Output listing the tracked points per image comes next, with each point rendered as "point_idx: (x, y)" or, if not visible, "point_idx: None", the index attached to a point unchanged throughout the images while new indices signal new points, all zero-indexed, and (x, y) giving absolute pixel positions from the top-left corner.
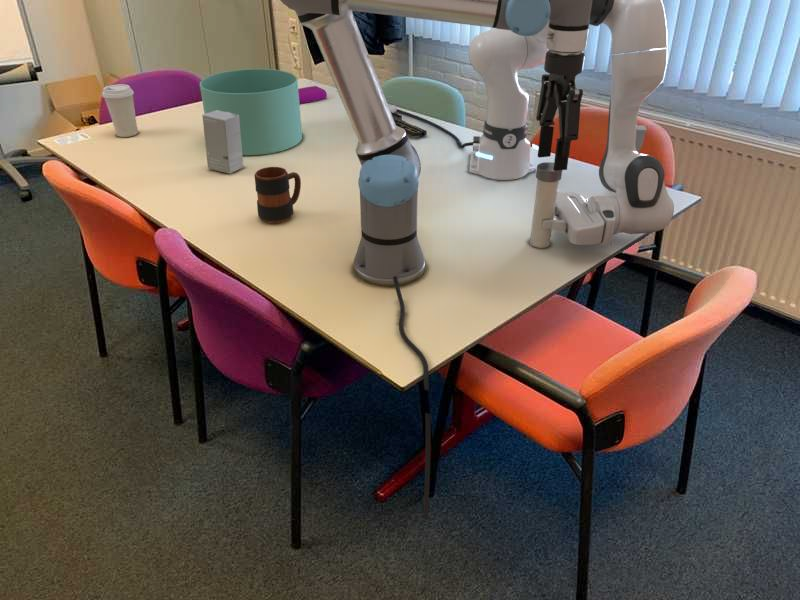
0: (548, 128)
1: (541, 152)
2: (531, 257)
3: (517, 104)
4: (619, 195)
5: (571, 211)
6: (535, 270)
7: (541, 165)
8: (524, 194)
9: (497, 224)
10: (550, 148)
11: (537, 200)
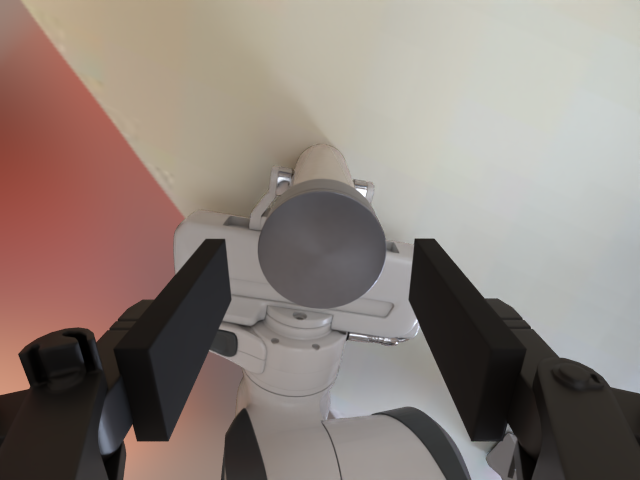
0: (476, 397)
1: (421, 262)
2: (255, 117)
3: None
4: (291, 409)
5: None
6: (188, 98)
7: (351, 222)
8: (591, 247)
9: (458, 99)
10: (420, 321)
11: (311, 168)
